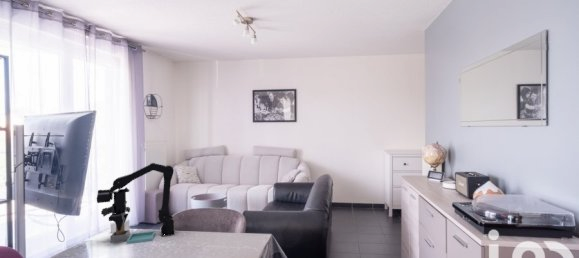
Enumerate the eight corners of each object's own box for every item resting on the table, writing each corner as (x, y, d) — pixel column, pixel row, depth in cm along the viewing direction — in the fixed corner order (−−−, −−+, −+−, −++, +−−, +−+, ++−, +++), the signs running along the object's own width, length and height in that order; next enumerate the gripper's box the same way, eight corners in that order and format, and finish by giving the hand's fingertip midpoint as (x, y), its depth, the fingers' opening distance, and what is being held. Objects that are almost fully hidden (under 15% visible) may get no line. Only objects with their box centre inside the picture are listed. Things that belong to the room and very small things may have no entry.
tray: (155, 235, 164) (155, 231, 164) (151, 242, 153) (151, 238, 153) (132, 238, 161) (131, 233, 161) (126, 246, 149) (126, 241, 149)
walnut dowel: (125, 237, 159) (125, 219, 159) (123, 240, 155) (123, 221, 155) (117, 238, 158) (117, 220, 158) (115, 241, 154) (114, 222, 154)
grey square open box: (129, 238, 161) (129, 230, 161) (126, 242, 154) (126, 234, 154) (114, 239, 159) (114, 231, 159) (110, 244, 152) (110, 236, 152)
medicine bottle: (129, 231, 174) (129, 211, 174) (121, 235, 166) (121, 214, 167) (118, 230, 174) (118, 211, 175) (110, 235, 167) (110, 214, 167)
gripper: (108, 198, 163) (108, 226, 163) (96, 206, 145) (97, 237, 145) (130, 196, 167) (130, 223, 166) (121, 203, 149) (122, 234, 148)
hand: (120, 229), depth 156 cm, fingers closed on walnut dowel, 4 cm apart
